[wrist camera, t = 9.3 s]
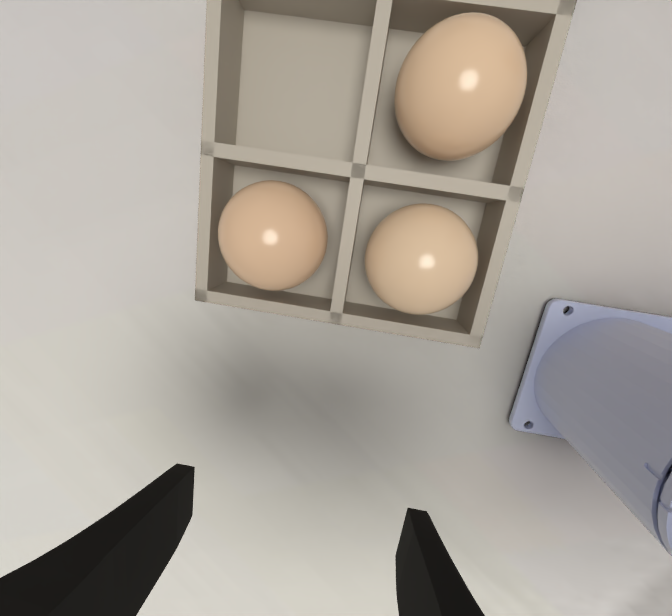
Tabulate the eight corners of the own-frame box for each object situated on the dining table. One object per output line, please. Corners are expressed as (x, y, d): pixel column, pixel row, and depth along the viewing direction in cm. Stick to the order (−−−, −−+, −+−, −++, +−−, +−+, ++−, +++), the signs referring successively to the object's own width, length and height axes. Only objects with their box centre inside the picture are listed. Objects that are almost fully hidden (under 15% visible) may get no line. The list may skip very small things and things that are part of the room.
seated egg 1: (339, 193, 18) (328, 183, 13) (325, 287, 19) (311, 310, 14) (244, 179, 18) (199, 164, 13) (237, 272, 19) (194, 291, 14)
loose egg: (508, 60, 16) (577, -12, 11) (480, 175, 17) (530, 157, 12) (399, 44, 16) (420, -35, 11) (380, 160, 17) (390, 136, 12)
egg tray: (538, 38, 16) (577, -3, 13) (462, 328, 19) (479, 348, 16) (236, -1, 16) (208, -49, 13) (219, 288, 20) (194, 300, 17)
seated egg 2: (471, 213, 17) (512, 211, 12) (448, 307, 19) (477, 338, 14) (373, 198, 17) (376, 191, 13) (357, 292, 19) (354, 318, 14)
